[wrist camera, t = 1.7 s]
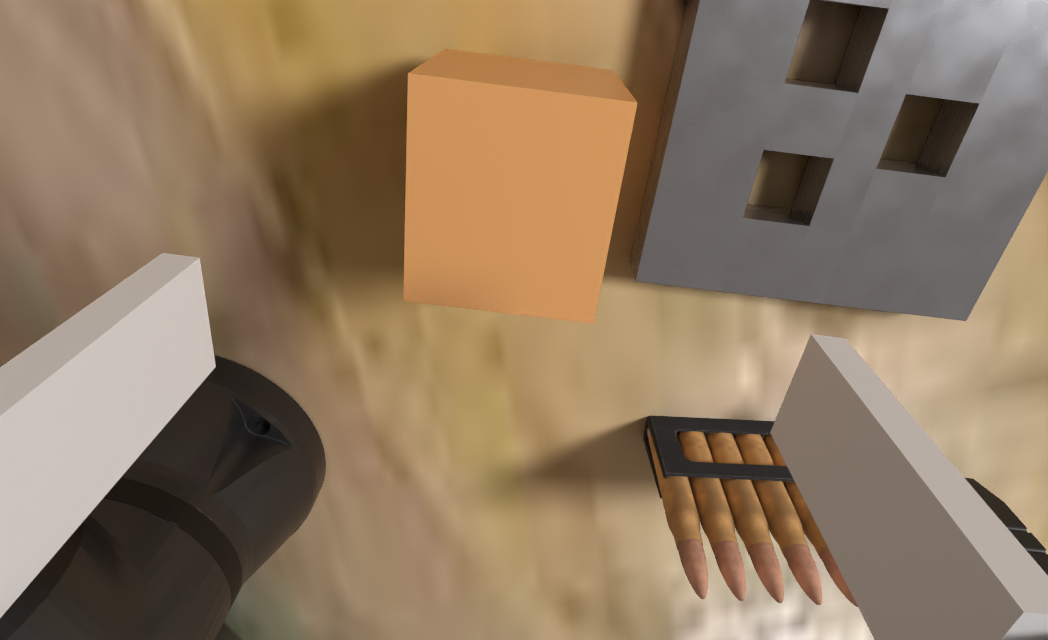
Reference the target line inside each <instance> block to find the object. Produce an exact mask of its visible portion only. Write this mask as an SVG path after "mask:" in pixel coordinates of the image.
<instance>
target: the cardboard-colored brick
mask: <svg viewBox="0 0 1048 640" xmlns="http://www.w3.org/2000/svg"><path fill="white" fill-rule="evenodd" d="M637 104H638V102H637V101H636V100H635V98H634V97H633V96H632V94H631V93H630V92H629V91H628V89H627V88H626V87H625V85H624V84H623V83H622V81H621V80H620V79H619V77H618V76H617V75H616V74H615V72H614V71H613V70H606V69H598V68H590V67H583V66H575V65H567V64H559V63H552V62H544V61H536V60H529V59H521V58H513V57H505V56H498V55H490V54H482V53H474V52H467V51H459V50H451V49H445V50H443V51H442V52H440V53H438V54H437V55H435V56H434V57H432V58H431V59H429V60H428V61H426V62H424V63H423V64H421V65H420V66H418V67H417V68H415V69H414V70H412V71H411V72H409V73H408V94H407V144H406V194H405V244H404V293H403V301H408V302H417V303H425V304H434V305H442V306H451V307H459V308H468V309H476V310H485V311H493V312H502V313H510V314H519V315H527V316H536V317H544V318H553V319H561V320H570V321H578V322H587V323H594V320H595V315H596V310H597V305H598V300H599V295H600V290H601V285H602V280H603V275H604V270H605V265H606V259H607V254H608V249H609V244H610V239H611V234H612V229H613V224H614V219H615V214H616V209H617V204H618V199H619V194H620V189H621V184H622V179H623V174H624V169H625V164H626V159H627V154H628V149H629V144H630V139H631V134H632V129H633V124H634V119H635V114H636V109H637Z"/></svg>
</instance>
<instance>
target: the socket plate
mask: <svg viewBox="0 0 1048 640" xmlns="http://www.w3.org/2000/svg"><path fill="white" fill-rule="evenodd" d="M809 1H810V0H687V5H686V9H685V14H684V18H683V23H682V28H681V32H680V37H679V41H678V46H677V50H676V55H675V59H674V64H673V68H672V73H671V78H670V82H669V87H668V91H667V96H666V100H665V105H664V109H663V114H662V118H661V123H660V128H659V132H658V137H657V141H656V146H655V150H654V155H653V159H652V164H651V168H650V173H649V178H648V182H647V187H646V191H645V196H644V200H643V205H642V209H641V214H640V219H639V223H638V228H637V232H636V237H635V241H634V246H633V250H632V255H631V259H630V264H631V267H632V271H633V274H634V277H635V281H637V282H645V283H654V284H662V285H670V286H679V287H687V288H695V289H704V290H712V291H720V292H729V293H737V294H745V295H754V296H762V297H770V298H779V299H787V300H795V301H804V302H812V303H820V304H829V305H837V306H845V307H854V308H862V309H870V310H879V311H887V312H895V313H904V314H912V315H920V316H929V317H937V318H945V319H954V320H962V321H966V320H967V318H968V316H969V314H970V313H971V311H972V309H973V307H974V305H975V303H976V302H977V300H978V298H979V296H980V294H981V292H982V291H983V289H984V287H985V285H986V283H987V281H988V280H989V278H990V276H991V274H992V272H993V270H994V269H995V267H996V265H997V263H998V261H999V259H1000V258H1001V256H1002V254H1003V252H1004V250H1005V248H1006V247H1007V245H1008V243H1009V241H1010V239H1011V237H1012V236H1013V234H1014V232H1015V230H1016V228H1017V226H1018V225H1019V223H1020V221H1021V219H1022V217H1023V216H1024V214H1025V212H1026V210H1027V208H1028V206H1029V205H1030V203H1031V201H1032V199H1033V197H1034V195H1035V194H1036V192H1037V190H1038V188H1039V186H1040V184H1041V183H1042V181H1043V179H1044V177H1045V175H1046V173H1047V172H1048V0H816V1H823V2H831V3H838V4H846V5H853V6H860V7H861V10H860V13H859V16H858V19H857V22H856V25H855V28H854V30H853V33H852V36H851V39H850V42H849V45H848V48H847V51H846V54H845V56H844V59H843V62H842V65H841V68H840V71H839V74H838V77H837V79H836V82H835V85H833V84H826V83H818V82H810V81H803V80H795V79H787V78H786V76H787V73H788V70H789V66H790V63H791V60H792V57H793V53H794V50H795V47H796V44H797V40H798V37H799V34H800V31H801V27H802V24H803V21H804V18H805V14H806V11H807V8H808V5H809ZM906 94H910V95H918V96H925V97H933V98H941V99H945V100H944V103H943V105H942V107H941V109H940V112H939V114H938V116H937V119H936V121H935V123H934V125H933V128H932V130H931V132H930V135H929V137H928V139H927V142H926V144H925V146H924V148H923V151H922V153H921V155H920V158H919V160H918V162H917V164H916V163H909V162H901V161H893V160H885V159H880V158H881V155H882V153H883V150H884V148H885V145H886V143H887V140H888V138H889V135H890V133H891V130H892V128H893V126H894V123H895V121H896V118H897V116H898V113H899V111H900V108H901V106H902V103H903V101H904V98H905V96H906ZM764 150H769V151H777V152H785V153H793V154H801V155H809V156H810V157H809V160H808V163H807V166H806V169H805V172H804V175H803V178H802V180H801V183H800V186H799V189H798V192H797V195H796V198H795V201H794V203H793V206H792V209H783V208H775V207H767V206H759V205H751V204H747V203H748V199H749V196H750V193H751V190H752V186H753V183H754V180H755V177H756V173H757V170H758V167H759V164H760V160H761V157H762V154H763V151H764Z"/></svg>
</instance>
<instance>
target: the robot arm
mask: <svg viewBox="0 0 1048 640" xmlns="http://www.w3.org/2000/svg"><path fill="white" fill-rule="evenodd" d="M770 433H771V435H772V437H773V439H774V441H775V443H776V445H777V447H778V449H779V451H780V453H781V455H782V457H783V459H784V461H785V463H786V465H787V467H788V469H789V471H790V473H791V475H792V477H793V479H794V481H795V483H796V485H797V487H798V489H799V491H800V493H801V495H802V497H803V499H804V501H805V503H806V505H807V507H808V509H809V511H810V512H811V514H812V516H813V518H814V520H815V522H816V524H817V526H818V528H819V530H820V532H821V534H822V536H823V538H824V540H825V542H826V544H827V546H828V548H829V550H830V552H831V554H832V556H833V558H834V560H835V562H836V564H837V566H838V568H839V570H840V572H841V574H842V576H843V578H844V580H845V582H846V584H847V586H848V588H849V590H850V592H851V594H852V596H853V597H854V599H855V601H856V603H857V605H858V607H859V609H860V611H861V613H862V615H863V617H864V619H865V621H866V623H867V625H868V627H869V629H870V631H871V633H872V635H873V637H874V639H875V640H1048V555H1047V554H1046V552H1045V550H1046V549H1045V548H1044V547H1043V546H1042V544H1041V543H1040V542H1039V541H1038V540H1037V539H1036V538H1035V537H1034V535H1033V534H1032V533H1027V531H1026V529H1027V528H1026V526H1025V525H1024V524H1023V523H1022V522H1021V521H1020V520H1019V519H1018V517H1017V516H1016V515H1015V514H1014V513H1013V512H1012V511H1011V510H1010V508H1009V507H1008V506H1007V505H1006V504H1005V503H1004V502H1003V501H1002V500H1000V499H999V498H998V497H996V496H995V495H994V494H992V493H991V492H990V491H988V490H987V489H986V488H984V487H983V486H982V485H980V484H979V483H978V482H976V481H975V480H974V479H970V478H964V477H963V476H962V475H961V473H960V472H959V471H958V470H957V469H956V468H955V466H954V465H953V464H952V463H951V462H950V460H949V459H948V458H947V457H946V456H945V455H944V453H943V452H942V451H941V450H940V449H939V448H938V446H937V445H936V444H935V443H934V442H933V441H932V439H931V438H930V437H929V436H928V435H927V434H926V432H925V431H924V430H923V429H922V428H921V426H920V425H919V424H918V423H917V422H916V421H915V419H914V418H913V417H912V416H911V415H910V414H909V412H908V411H907V410H906V409H905V408H904V407H903V405H902V404H901V403H900V402H899V401H898V400H897V398H896V397H895V396H894V395H893V394H892V393H891V391H890V390H889V389H888V388H887V387H886V385H885V384H884V383H883V382H882V381H881V380H880V378H879V377H878V376H877V375H876V374H875V373H874V371H873V370H872V369H871V368H870V367H869V366H868V364H867V363H866V362H865V361H864V360H863V359H862V357H861V356H860V355H859V354H858V353H857V351H856V350H855V349H854V348H853V347H852V346H851V344H850V343H849V342H848V341H847V340H846V339H845V338H837V337H829V336H821V335H813V334H811V336H810V338H809V341H808V343H807V345H806V348H805V350H804V353H803V355H802V357H801V360H800V362H799V365H798V367H797V369H796V372H795V374H794V377H793V379H792V381H791V384H790V386H789V389H788V391H787V393H786V396H785V398H784V401H783V403H782V405H781V408H780V410H779V413H778V415H777V417H776V420H775V422H774V425H773V427H772V429H771V432H770ZM325 469H326V461H325V453H324V448H323V445H322V442H321V439H320V437H319V434H318V432H317V430H316V428H315V426H314V425H313V423H312V421H311V420H310V418H309V417H308V416H307V414H306V413H305V412H304V410H303V409H302V408H301V407H300V406H299V405H298V403H297V402H296V401H295V400H294V399H293V398H292V397H291V396H289V395H288V394H287V393H286V392H285V391H284V390H282V389H281V388H280V387H279V386H277V385H276V384H275V383H273V382H272V381H270V380H269V379H267V378H266V377H264V376H262V375H261V374H259V373H257V372H255V371H253V370H251V369H249V368H247V367H245V366H243V365H240V364H238V363H235V362H233V361H230V360H227V359H224V358H221V357H217V356H214V351H213V344H212V338H211V331H210V324H209V318H208V311H207V304H206V297H205V291H204V284H203V277H202V270H201V264H200V258H198V257H190V256H182V255H174V254H166V253H162V254H160V255H159V256H158V257H156V258H155V259H153V260H152V261H150V262H149V263H148V264H146V265H145V266H143V267H142V268H141V269H139V270H138V271H136V272H135V273H133V274H132V275H131V276H129V277H128V278H126V279H125V280H123V281H122V282H121V283H119V284H118V285H116V286H115V287H114V288H112V289H111V290H109V291H108V292H106V293H105V294H104V295H102V296H101V297H99V298H98V299H97V300H95V301H94V302H92V303H91V304H89V305H88V306H87V307H85V308H84V309H82V310H81V311H79V312H78V313H77V314H75V315H74V316H72V317H71V318H70V319H68V320H67V321H65V322H64V323H62V324H61V325H60V326H58V327H57V328H55V329H54V330H53V331H51V332H50V333H48V334H47V335H45V336H44V337H43V338H41V339H40V340H38V341H37V342H35V343H34V344H33V345H31V346H30V347H28V348H27V349H26V350H24V351H23V352H21V353H20V354H18V355H17V356H16V357H14V358H13V359H11V360H10V361H9V362H7V363H6V364H4V365H3V366H1V367H0V640H215V639H216V637H217V635H218V633H219V631H220V629H221V626H222V625H223V623H224V621H225V619H226V617H227V615H228V612H229V610H230V608H231V606H232V604H233V602H234V600H235V598H236V597H237V594H238V593H239V591H240V589H241V587H242V585H243V584H244V583H245V582H246V581H247V580H248V579H249V578H250V577H251V576H252V575H253V574H254V573H255V572H256V571H257V570H258V569H259V568H260V567H261V566H262V565H263V564H264V563H265V562H266V561H267V560H268V559H269V558H270V557H271V556H272V555H273V554H274V553H275V552H276V551H277V550H278V548H279V547H280V546H281V545H282V544H283V543H284V542H285V541H286V540H287V539H288V538H289V537H290V536H291V535H292V534H293V533H294V532H295V531H296V530H297V529H298V528H299V527H300V526H301V525H302V524H303V522H304V521H305V519H306V518H307V516H308V515H309V513H310V511H311V509H312V507H313V505H314V502H315V500H316V498H317V496H318V494H319V491H320V489H321V487H322V484H323V481H324V476H325Z"/></svg>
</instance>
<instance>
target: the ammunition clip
mask: <svg viewBox="0 0 1048 640" xmlns="http://www.w3.org/2000/svg"><path fill="white" fill-rule="evenodd" d="M774 422H775V421H754V420H733V419H711V418H690V417H668V416H649V417H648V418H647V420H646V426H645V432H644V438H643V440H644V443H645V446H646V450H647V453H648V457H649V460H650V464H651V467H652V471H653V474H654V478H655V481H656V485H657V488H658V492H659V495H660V498H662V500H663V505H664V509H665V513H666V518H667V522H668V525H669V528H670V530H671V532H672V534H673V536H674V539H675V542H676V546H677V549H678V551H679V555H680V559H681V562H682V565H683V568H684V571H685V574H686V576H687V578H688V580H689V582H690V584H691V586H692V588H693V589H694V591H695V592H696V594H697V595H698V596H699V597H700V598H701V599H705V597H706V594H707V589H708V572H707V564H706V557H705V553H704V549H703V543H702V538H701V534H700V522H701V525H702V528H703V530H704V532H705V534H706V535H707V537H708V539H709V542H710V545H711V547H712V550H713V552H714V555H715V558H716V561H717V564H718V566H719V569H720V571H721V573H722V576H723V578H724V580H725V581H726V583H727V585H728V587H729V588H730V590H731V591H732V593H733V594H734V595H735V597H736V598H737V599H738V600H740V601H743V600H744V598H745V591H746V583H745V572H744V567H743V562H742V558H741V555H740V552H739V549H738V543H737V539H736V536H735V529H734V525H735V528H736V530H737V532H738V534H739V535H740V537H741V539H742V540H743V542H744V544H745V547H746V549H747V551H748V554H749V555H750V558H751V560H752V563H753V565H754V568H755V570H756V572H757V574H758V576H759V578H760V580H761V581H762V583H763V585H764V586H765V588H766V589H767V591H768V592H769V594H770V595H771V596H772V597H773V598H774V599H775V600H776V601H777V602H778V603H782V602H783V597H784V587H783V578H782V573H781V569H780V565H779V562H778V559H777V556H776V554H775V551H774V547H773V544H772V541H771V538H770V534H769V530H770V532H771V534H772V536H773V537H774V539H775V540H776V542H777V543H778V544H779V546H780V548H781V551H782V553H783V555H784V557H785V558H786V560H787V562H788V565H789V567H790V569H791V571H792V573H793V575H794V577H795V578H796V580H797V582H798V583H799V585H800V586H801V588H802V589H803V591H804V592H805V593H806V594H807V596H808V597H809V598H810V599H811V600H812V601H813V602H814V603H816V604H817V605H821V603H822V589H821V583H820V578H819V574H818V571H817V568H816V565H815V562H814V560H813V558H812V555H811V553H810V551H809V547H808V544H807V542H806V539H805V537H804V533H805V535H806V537H807V538H808V539H809V541H810V542H811V543H812V544H813V546H814V547H815V549H816V551H817V553H818V555H819V557H820V558H821V559H822V561H823V563H824V565H825V567H826V569H827V571H828V573H829V574H830V576H831V578H832V579H833V581H834V582H835V584H836V585H837V587H838V588H839V589H840V591H841V592H842V593H843V594H844V595H845V597H846V598H847V599H848V600H849V601H850V602H851V603H853V604H854V605H855V606H857V607H858V605H857V603H856V601H855V599H854V597H853V596H852V594H851V592H850V590H849V588H848V586H847V584H846V582H845V580H844V578H843V576H842V574H841V572H840V570H839V568H838V566H837V564H836V562H835V560H834V558H833V556H832V554H831V552H830V550H829V548H828V546H827V544H826V542H825V540H824V538H823V536H822V534H821V532H820V530H819V528H818V526H817V524H816V522H815V520H814V518H813V516H812V514H811V512H810V511H809V509H808V507H807V505H806V503H805V501H804V499H803V497H802V495H801V493H800V491H799V489H798V487H797V485H796V483H795V481H794V479H793V477H792V475H791V473H790V471H789V469H788V467H787V465H786V463H785V461H784V459H783V457H782V455H781V453H780V451H779V449H778V447H777V445H776V443H775V441H774V439H773V437H772V435H771V433H770V432H771V429H772V427H773V425H774ZM803 531H804V532H803Z"/></svg>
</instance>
